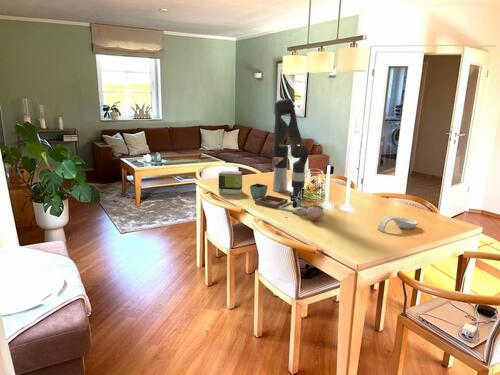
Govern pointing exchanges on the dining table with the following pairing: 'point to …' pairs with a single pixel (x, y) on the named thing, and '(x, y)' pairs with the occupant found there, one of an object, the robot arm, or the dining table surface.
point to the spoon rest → (400, 222)
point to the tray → (300, 212)
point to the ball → (298, 203)
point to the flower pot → (258, 190)
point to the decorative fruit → (315, 212)
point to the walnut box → (271, 201)
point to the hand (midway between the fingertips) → (296, 206)
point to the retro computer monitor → (230, 182)
